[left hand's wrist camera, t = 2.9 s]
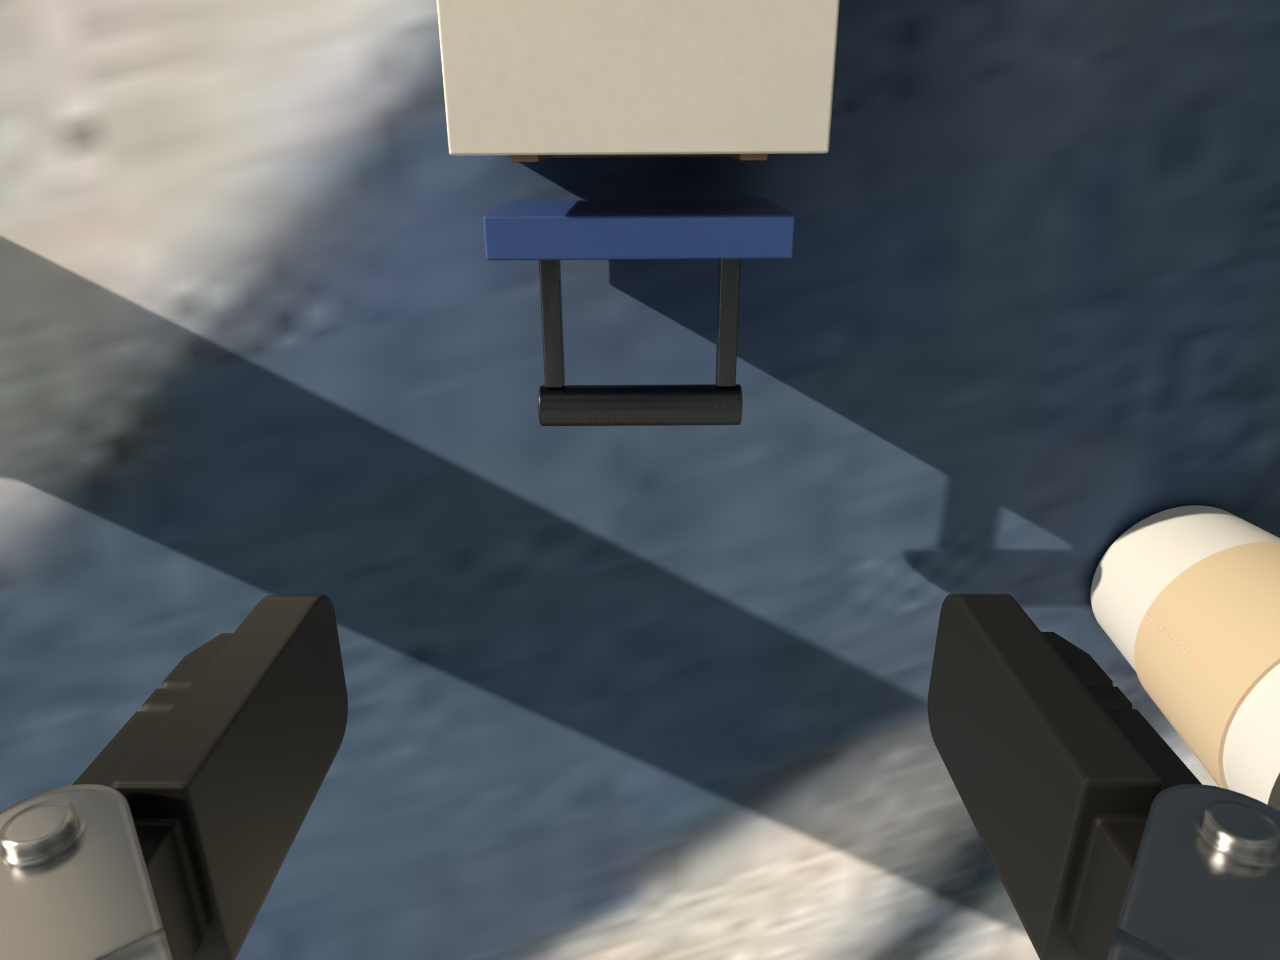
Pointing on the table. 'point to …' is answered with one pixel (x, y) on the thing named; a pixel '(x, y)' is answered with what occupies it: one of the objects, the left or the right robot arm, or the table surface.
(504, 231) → the drawer
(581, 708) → the table surface
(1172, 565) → the coffee cup
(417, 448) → the table surface
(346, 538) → the table surface
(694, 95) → the cream box
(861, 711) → the table surface
